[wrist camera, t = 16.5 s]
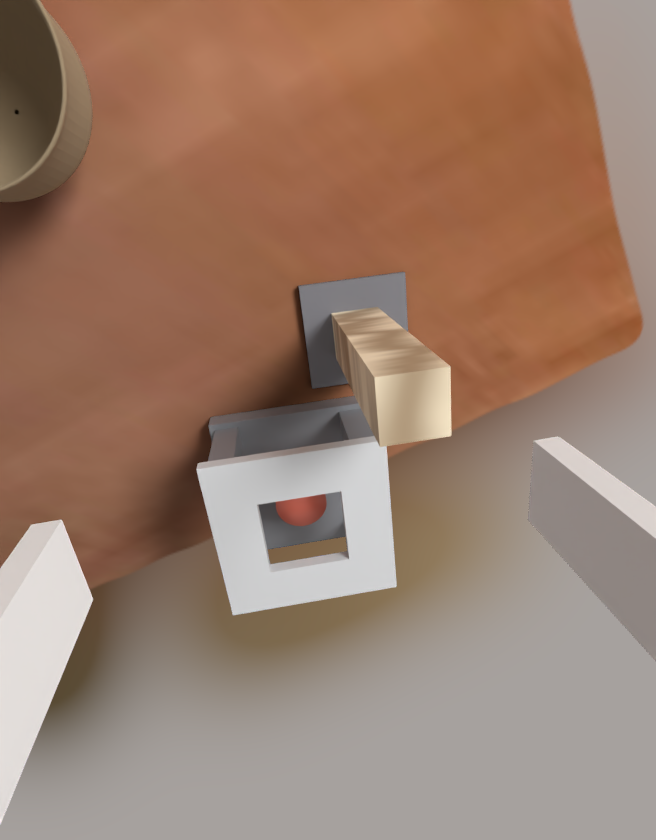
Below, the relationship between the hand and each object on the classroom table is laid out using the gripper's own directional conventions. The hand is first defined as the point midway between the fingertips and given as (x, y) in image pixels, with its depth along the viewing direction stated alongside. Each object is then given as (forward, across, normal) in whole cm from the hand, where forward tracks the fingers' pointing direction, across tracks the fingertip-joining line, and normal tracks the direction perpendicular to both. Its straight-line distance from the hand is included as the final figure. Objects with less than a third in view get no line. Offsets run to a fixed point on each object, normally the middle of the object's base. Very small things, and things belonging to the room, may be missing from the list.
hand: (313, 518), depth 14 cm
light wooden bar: (+30, +7, -2) cm, 31 cm away
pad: (+30, +7, -2) cm, 31 cm away
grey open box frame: (+30, 0, -15) cm, 34 cm away
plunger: (+30, 0, -15) cm, 34 cm away
